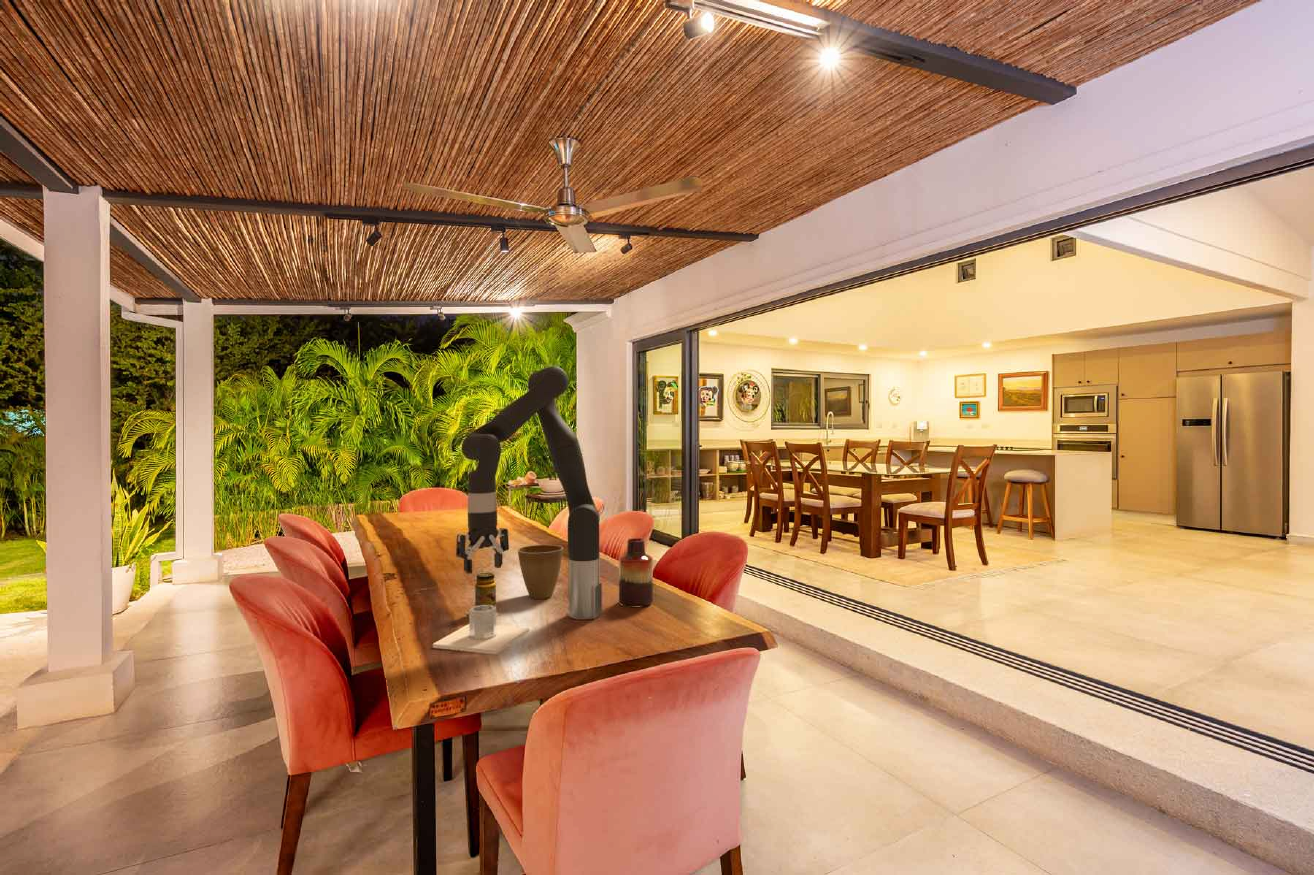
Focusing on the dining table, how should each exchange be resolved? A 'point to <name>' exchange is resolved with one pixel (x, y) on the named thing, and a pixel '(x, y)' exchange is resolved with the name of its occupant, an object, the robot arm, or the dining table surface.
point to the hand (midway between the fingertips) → (483, 570)
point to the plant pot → (540, 568)
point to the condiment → (485, 590)
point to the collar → (482, 621)
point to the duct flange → (481, 640)
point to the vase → (635, 575)
